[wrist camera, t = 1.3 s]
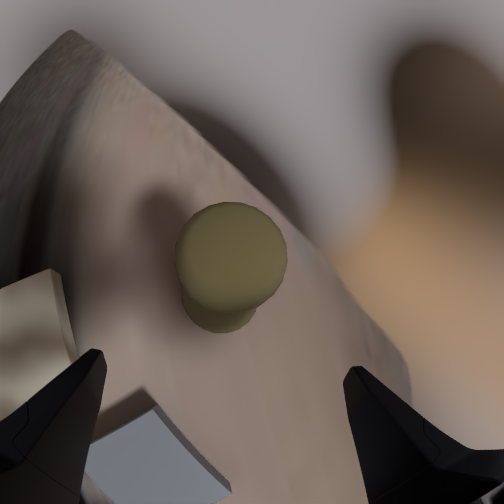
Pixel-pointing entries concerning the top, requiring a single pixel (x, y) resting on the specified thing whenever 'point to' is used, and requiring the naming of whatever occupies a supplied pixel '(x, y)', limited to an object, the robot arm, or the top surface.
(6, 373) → the maple slab
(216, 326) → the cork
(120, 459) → the blue grey block
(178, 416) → the top surface
